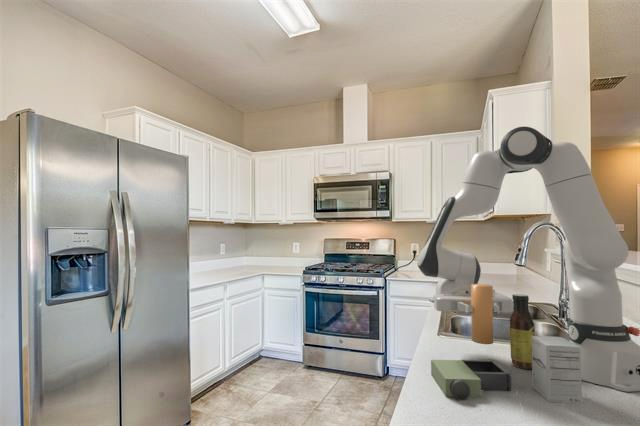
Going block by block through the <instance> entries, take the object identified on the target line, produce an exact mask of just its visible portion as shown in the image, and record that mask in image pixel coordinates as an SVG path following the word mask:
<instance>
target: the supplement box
mask: <svg viewBox="0 0 640 426" xmlns="http://www.w3.org/2000/svg"><path fill="white" fill-rule="evenodd" d="M531 370H532V372H531V373H532V388H534V389H535V391H537V392H538V393H539V394H540V395H541V396H542V397H543V398H544V399H545V400H546V401H547V402H548V403H559V404H560V403H562V404H577V405H578V404H579V405H580V404H583V391H582V390H583V387H582V379H581V351H580V347H579V346H577V345H575V344H573V343H572V342H570V340H568V339H566V338H564V337H563V336H550V335H549V336H547V335H546V336H545V335H543V336H542V335H535V336H532V369H531Z"/></svg>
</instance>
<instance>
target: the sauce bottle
mask: <svg viewBox="0 0 640 426" xmlns="http://www.w3.org/2000/svg"><path fill="white" fill-rule="evenodd" d="M511 299H512V300H513V312H512V313H510V316H509V342H510V343H509V345H510V347H509V348H510V359H511V363H512V365H513V366H514V367H516V368H519V369H525V370H532V336H536V330H535V328H536V327H535V323H534V320H533V317H532V314H531V312H530V309H529V299H530V298H529V295H528V294H521V293H513V294H512V297H511Z"/></svg>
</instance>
